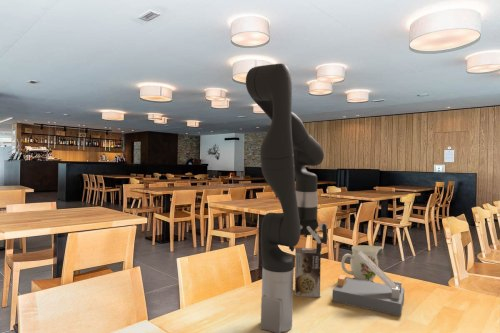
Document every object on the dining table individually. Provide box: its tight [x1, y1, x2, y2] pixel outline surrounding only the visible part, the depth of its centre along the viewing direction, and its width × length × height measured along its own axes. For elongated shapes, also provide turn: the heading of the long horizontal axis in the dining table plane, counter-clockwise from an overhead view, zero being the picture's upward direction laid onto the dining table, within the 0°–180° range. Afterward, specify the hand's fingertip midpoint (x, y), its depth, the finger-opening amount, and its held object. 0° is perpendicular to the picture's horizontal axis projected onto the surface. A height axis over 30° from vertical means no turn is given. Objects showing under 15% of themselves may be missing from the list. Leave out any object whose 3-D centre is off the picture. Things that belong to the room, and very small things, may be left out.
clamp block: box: [331, 276, 405, 317], centre depth 121 cm, size 16×22×7 cm
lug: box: [337, 274, 348, 286], centre depth 125 cm, size 5×2×2 cm, turn 152°
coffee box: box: [294, 247, 322, 298], centre depth 125 cm, size 9×6×16 cm
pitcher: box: [340, 244, 384, 282], centre depth 141 cm, size 11×18×14 cm, turn 99°
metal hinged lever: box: [357, 250, 400, 290], centre depth 119 cm, size 6×18×2 cm
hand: (305, 252), depth 113 cm, fingers open, 8 cm apart
